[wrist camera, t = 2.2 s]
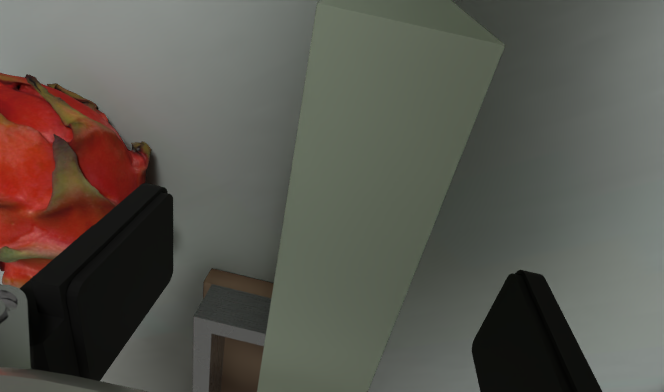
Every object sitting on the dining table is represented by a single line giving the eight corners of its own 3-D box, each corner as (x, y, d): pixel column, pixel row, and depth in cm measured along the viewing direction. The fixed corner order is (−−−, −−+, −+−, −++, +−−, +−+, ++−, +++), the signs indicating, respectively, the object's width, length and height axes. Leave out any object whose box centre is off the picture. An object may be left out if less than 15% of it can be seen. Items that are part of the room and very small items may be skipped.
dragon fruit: (182, 234, 26) (61, 56, 23) (232, 234, 19) (66, -22, 16) (41, 328, 21) (-132, 123, 18) (38, 374, 14) (-243, 56, 11)
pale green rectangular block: (364, -26, 16) (317, 3, 6) (440, -9, 16) (505, 45, 6) (313, 222, 22) (252, 421, 13) (368, 235, 22) (346, 444, 13)
